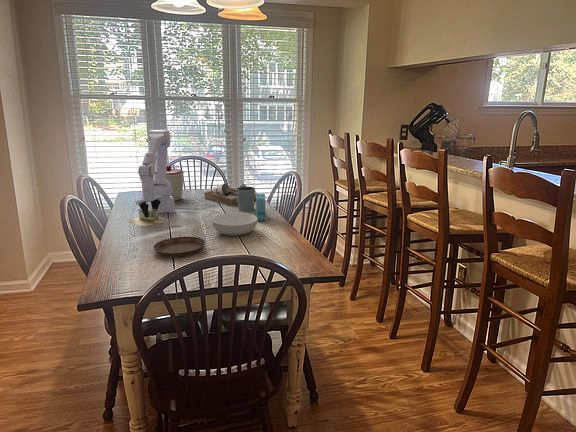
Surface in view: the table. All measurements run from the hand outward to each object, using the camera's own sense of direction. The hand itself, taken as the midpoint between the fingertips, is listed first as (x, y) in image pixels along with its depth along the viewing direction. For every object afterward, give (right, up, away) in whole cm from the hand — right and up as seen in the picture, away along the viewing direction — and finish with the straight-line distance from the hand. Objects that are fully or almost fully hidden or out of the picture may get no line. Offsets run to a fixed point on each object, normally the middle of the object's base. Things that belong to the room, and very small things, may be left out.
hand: (150, 215), depth 217 cm
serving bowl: (+44, -8, -15) cm, 47 cm away
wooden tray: (+33, +10, +48) cm, 59 cm away
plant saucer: (+24, -15, -38) cm, 48 cm away
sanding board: (-1, -4, 0) cm, 4 cm away
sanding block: (-1, -2, +1) cm, 2 cm away
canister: (-3, +10, +49) cm, 50 cm away
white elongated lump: (+35, +10, +49) cm, 60 cm away
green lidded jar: (+45, +4, +26) cm, 52 cm away
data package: (+54, -2, +7) cm, 55 cm away
